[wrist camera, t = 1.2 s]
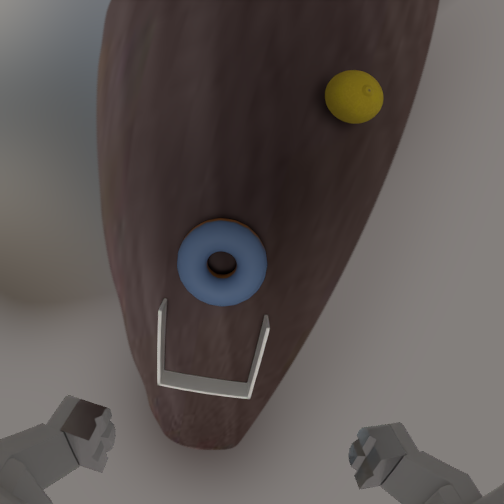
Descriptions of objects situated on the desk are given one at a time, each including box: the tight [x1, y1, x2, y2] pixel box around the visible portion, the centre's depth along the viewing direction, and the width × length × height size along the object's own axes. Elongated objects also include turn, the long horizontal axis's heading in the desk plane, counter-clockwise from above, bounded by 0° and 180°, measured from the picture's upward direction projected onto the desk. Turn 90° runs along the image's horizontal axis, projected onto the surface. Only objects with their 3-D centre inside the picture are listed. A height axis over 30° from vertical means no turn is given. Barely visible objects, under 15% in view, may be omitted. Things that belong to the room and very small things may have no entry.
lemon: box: [325, 70, 383, 123], centre depth 24 cm, size 6×6×8 cm
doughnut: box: [177, 218, 267, 306], centre depth 32 cm, size 10×10×5 cm
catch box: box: [157, 298, 270, 399], centre depth 36 cm, size 13×13×3 cm
